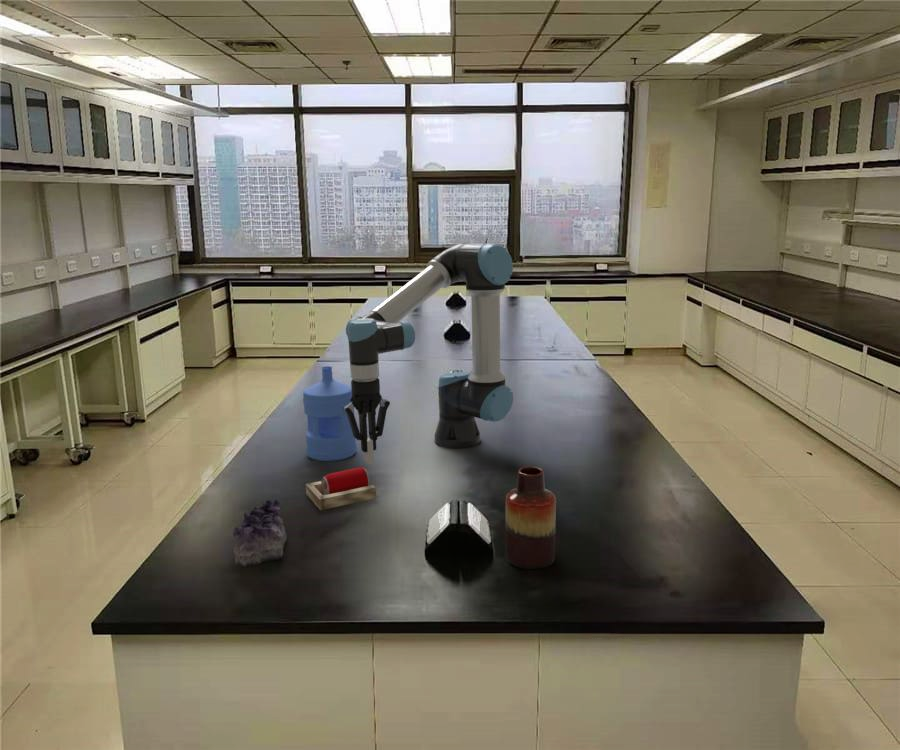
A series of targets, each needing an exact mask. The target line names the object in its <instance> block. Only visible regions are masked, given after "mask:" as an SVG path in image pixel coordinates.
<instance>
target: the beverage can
mask: <svg viewBox="0 0 900 750" xmlns="http://www.w3.org/2000/svg"><path fill="white" fill-rule="evenodd" d="M320 481H321V485H322V490H323V493H324V495H328V494H333V493H337V492H342V491H347V490H352V489H356V488H361V487H366V486H370V476H369V472H368V470H367V469H366V468H364V466H360V467H355V468H351V469H346V470H341V471H337V472H331V473H328V474H326V475H324V476H323V477H322V478H321V480H320Z"/></svg>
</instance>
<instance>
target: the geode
mask: <svg viewBox="0 0 900 750" xmlns="http://www.w3.org/2000/svg"><path fill="white" fill-rule="evenodd" d="M281 507H282V504H281V503H280V502H279V501H278V500H277V499H275V500H274V501H272V500H268V499H267V500H266V501H265V502H263V503H262V505H261V506H259V507H258V506H255V507H253V508H252V510H251V511H249V512H244V513H243V516H244V518H243V521H242V522H241V523H240V524H239V525H237V526H236V527H234V531H233V532H232V535H233V537H234V549H233V554H234V558H235V559H234V560H235V562H234V563H235V564H236V565H239V566H240V567H241V568H247V567H249V566H254V565H258V564H261V563H265V562H269V561H277V560H280V559H282V558H283V557H284V548H285V545H286V544H287V542H288V535H287V532H286V528H285V526H284V521H283V518H282V512H281Z"/></svg>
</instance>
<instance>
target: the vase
mask: <svg viewBox="0 0 900 750" xmlns="http://www.w3.org/2000/svg"><path fill="white" fill-rule="evenodd" d="M544 473H545V472H544V469H543V468H540V467H538V466H524V467H520V468H519V469H518V471H517V480H516V481H517V483H516V488H515V487H514V488H512V489H511V490H509V491H508V492H507V493H506V495H505V559H507V560H508V561H509V562H510V563H511V564H513V565H514V566H513V565H512V566H513V567H515V566H517V567H516V568H518V567H520V568H519V569H522V568H525V569H524V570H530V569H535V570H540V569H539V568H542V569H546V568H548V567H550V566H551V565H552V564H553V563H554V562H555V559H556V516H557V515H556V514H557V513H556V511H557V505H556V504H557V498H556V497H557V496H555V494H554V493H553V492H552V491H551V490H549V489H547V488H545V474H544ZM507 560H506V561H507ZM508 561H507V562H508ZM509 562H508V563H509ZM510 563H509V564H510ZM511 564H510V565H511ZM549 565H550V566H549ZM547 566H548V567H547ZM545 567H546V568H545Z"/></svg>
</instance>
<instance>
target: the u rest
mask: <svg viewBox="0 0 900 750" xmlns="http://www.w3.org/2000/svg"><path fill="white" fill-rule="evenodd" d="M305 490H306V491H305V494H306V496H308V498H309V499H310V501H312V502H313V503H314V505H315V506H316V507H317V508H318V509H319V510H320V511H323V510H324V511H325V510H328V509H333V508H337V507H340V506H346V505H350V504H355V503H360V502H365V501H368V500H373V499H376V498H377V487H376V486H375V485H374V484H371V485H370V484H369V486H366V487H361V488H356V489H352V490H347V491H342V492H337V493H333V494H328V495H324V493H323V490H322V485H321V480H319V481H314V482H310V483H305Z"/></svg>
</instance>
